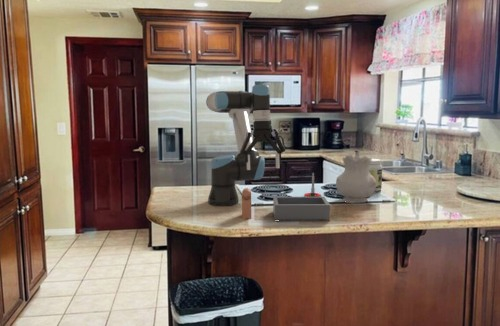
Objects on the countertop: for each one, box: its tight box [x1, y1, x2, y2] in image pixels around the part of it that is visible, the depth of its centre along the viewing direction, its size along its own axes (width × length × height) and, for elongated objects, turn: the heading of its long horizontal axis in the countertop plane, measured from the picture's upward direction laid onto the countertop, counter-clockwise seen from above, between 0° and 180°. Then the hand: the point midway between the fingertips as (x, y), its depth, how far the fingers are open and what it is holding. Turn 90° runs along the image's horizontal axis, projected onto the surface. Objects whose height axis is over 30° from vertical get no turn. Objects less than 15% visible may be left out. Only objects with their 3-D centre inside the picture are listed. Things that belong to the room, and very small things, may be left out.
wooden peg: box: [241, 187, 252, 219], centre depth 186 cm, size 4×6×12 cm, turn 179°
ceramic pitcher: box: [335, 148, 376, 204], centre depth 213 cm, size 22×20×25 cm
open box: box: [272, 196, 331, 222], centre depth 186 cm, size 23×15×7 cm, turn 89°
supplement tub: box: [368, 158, 383, 192], centre depth 237 cm, size 12×12×17 cm
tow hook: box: [304, 172, 322, 197], centre depth 223 cm, size 8×13×9 cm
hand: (263, 169), depth 188 cm, fingers open, 13 cm apart
